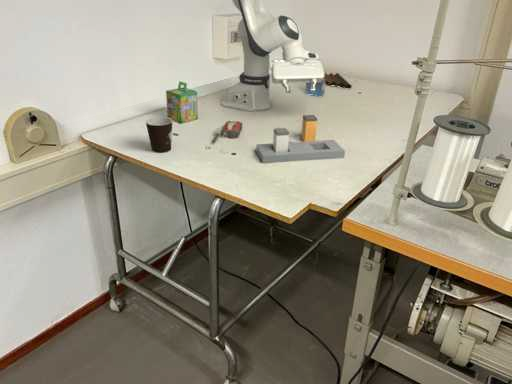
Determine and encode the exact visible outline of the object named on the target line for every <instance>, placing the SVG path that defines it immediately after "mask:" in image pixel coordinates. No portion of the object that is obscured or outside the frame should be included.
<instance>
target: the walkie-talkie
mask: <svg viewBox="0 0 512 384" xmlns="http://www.w3.org/2000/svg"><path fill="white" fill-rule="evenodd" d="M242 130H243V123H242V122H241V121H236V120H235V121H234V120H227V121H226V122H225V123H224V125H223V126H222V127H218V128H217V129H216V130H215V131H214V135H215V136H214V138H213V139H212V143H213V144H216V142H217V140H218V138H222V139H224V138H227V139H238V138H239V137H240V134H241V133H240V132H242Z"/></svg>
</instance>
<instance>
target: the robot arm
mask: <svg viewBox="0 0 512 384" xmlns="http://www.w3.org/2000/svg"><path fill="white" fill-rule="evenodd" d="M231 1H232V3H233V5H234V6H235V8H236V9H237V10H238V11H239V13H241V17H242V19H240V21H239V22H238V24H237V29H236V30H237V34H238V36H239V38H240V41H241V46H242V53H243V72H241V74H240V75H238V80H239V81H238V82H237V83H235V84H234V85H233V86H232V87H230V88H229V90H227V94H226V98H224V99H223V100H222V102H221V106H222V107H227V108H230V109H231V108H232V109H235V110H242V111H246V112H252V111H253V112H254V111H259V110H260V111H263V110H267V109H269V108H271V107H272V104H271V99H270V85H271V84H270V83H271V82H272V83H273V84H274V85H275V84H276V85H277V84H281V86H282V87H283V88H284V89H285V93H286V94H290V93H291V92H292V88H291V86H289V85H288V84H304V83H305V84H306V83H310V82H311V84H313V86H311V87H310V92H314V91H315V84H316V82H321V81H322V80H323V78H324V76H325V75H324V73H325V71H324V67H323V65H322V62H321V61H319V58H320V57H319V54H318V53H315V52H311V51H308V50H306V49H305V47H304V37H303V33H302V31H301V27H300V25H299V22H298V21H297V20H295V19H293V18H290V17H288V16H285V15H281V14H280V15H279V16H277V17H275V16H274V15H273V14H272V13H271V11H270V10H269V9H268V7H267V5H266V3H265V1H264V0H231ZM280 47H281V50H282V59H273V60H272V61H270V57H271V56H270V54H271V53H272V52H273V51H275V50H277V49H279V48H280ZM270 71H271V76H270ZM270 77H271V78H270Z"/></svg>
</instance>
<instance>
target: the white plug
mask: <svg viewBox="0 0 512 384" xmlns="http://www.w3.org/2000/svg"><path fill="white" fill-rule="evenodd" d="M289 135H290V131H288V129H287V128H286V127H280V128H279V127H277V128H275V127H274V128H273V135H272V136H273V137H272V138H273V140H272V141H273V142H272V143H273V151H274V153H275V152H288V142H289Z"/></svg>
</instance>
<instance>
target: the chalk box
mask: <svg viewBox="0 0 512 384" xmlns="http://www.w3.org/2000/svg"><path fill="white" fill-rule="evenodd" d="M187 85H188V83H187V82H183V81H179V82H178V86H177V88H173V89H168V90H165V96H166V114H167V118H170V119H172V121H175V122H176V123H178V124H184V123H188V122H191V121H195V120H198V119H199V114H198V112H199V110H198V91H196V90H194V89H190V88H188V87H187ZM182 86H183V87H182Z"/></svg>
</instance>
